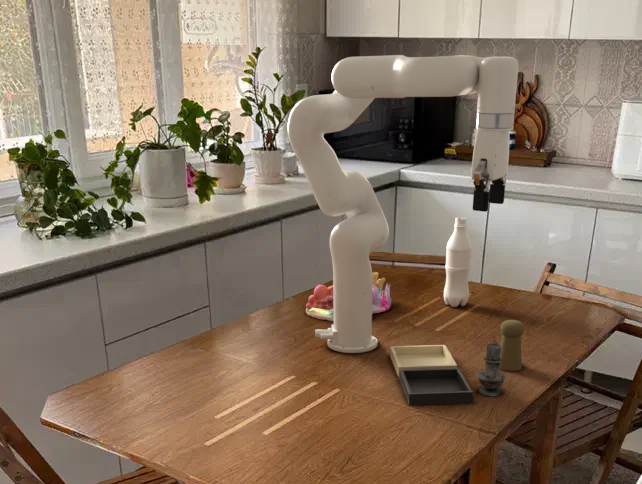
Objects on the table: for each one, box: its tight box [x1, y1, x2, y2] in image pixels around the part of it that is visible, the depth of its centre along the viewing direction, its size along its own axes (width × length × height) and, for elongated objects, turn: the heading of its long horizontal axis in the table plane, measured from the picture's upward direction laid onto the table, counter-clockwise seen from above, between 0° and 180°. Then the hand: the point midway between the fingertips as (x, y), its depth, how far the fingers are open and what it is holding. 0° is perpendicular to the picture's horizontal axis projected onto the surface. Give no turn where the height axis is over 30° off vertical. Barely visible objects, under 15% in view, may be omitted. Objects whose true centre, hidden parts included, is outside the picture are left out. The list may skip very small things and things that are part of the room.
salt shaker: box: [477, 338, 506, 397], centre depth 167 cm, size 6×6×12 cm
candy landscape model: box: [305, 271, 392, 322], centre depth 222 cm, size 25×24×9 cm
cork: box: [499, 319, 525, 372], centre depth 180 cm, size 6×6×11 cm
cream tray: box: [389, 344, 458, 378], centre depth 183 cm, size 13×13×2 cm
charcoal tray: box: [398, 367, 474, 406], centre depth 169 cm, size 13×13×2 cm
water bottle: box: [443, 216, 473, 308], centre depth 221 cm, size 7×7×25 cm
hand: (488, 206), depth 166 cm, fingers open, 9 cm apart
